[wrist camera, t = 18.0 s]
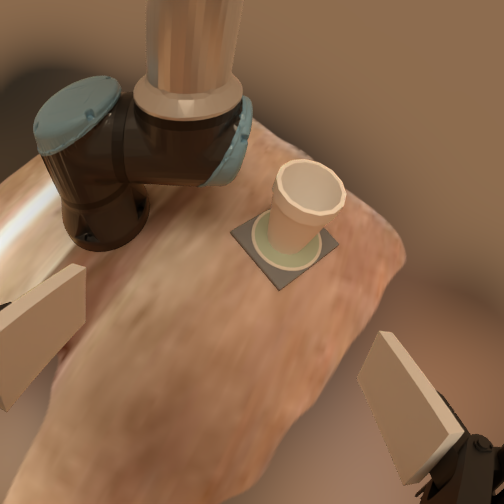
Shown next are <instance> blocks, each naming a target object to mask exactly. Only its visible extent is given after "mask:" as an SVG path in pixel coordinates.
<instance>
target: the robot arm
mask: <svg viewBox="0 0 504 504" xmlns="http://www.w3.org/2000/svg"><path fill="white" fill-rule="evenodd" d="M243 3H244V0H146V69H147V74H146V75H144V76H143V77H142V78H141V79H140V80H139V81H138V83H137V84H136V86H135V88H134V91H133V92H121V86H120V85H119V83H118V81H117V80H116V79H114V78H111V77H109V76H94V77H89V78H86V79H83V80H80V81H77V82H75V83H73V84H71V85H69V86H67V87H65V88H63V89H62V90H60V91H59V92H58V93H56V94H55V95H53V96H52V97H51V98H50V99H49V100H48V101H47V102H46V103H45V104H44V105H43V106H42V108H41V109H40V110H39V112H38V114H37V116H36V118H35V121H34V125H33V131H34V135H35V138H36V142H37V145H38V152H39V153H40V155H41V157H42V159H43V161H44V164H45V166H46V168H47V170H48V172H49V174H50V176H51V178H52V180H53V182H54V184H55V186H56V188H57V190H58V192H59V194H60V196H61V201H62V218H63V223H64V226H65V229H66V231H67V232H68V234H69V236H70V237H71V239H72V240H73V241H74V242H75V243H76V244H77V245H78V246H80V247H82V248H84V249H86V250H90V251H109V250H113V249H116V248H118V247H121V246H123V245H124V244H126V243H128V242H129V241H131V240H132V239H133V238H134V237H135V236H136V235H137V234H138V233H139V232H140V231H141V229H142V228H143V226H144V225H145V223H146V220H147V218H148V214H149V200H148V194H147V191H146V188H145V186H144V184H159V185H178V186H195V187H204V186H224V185H227V184H229V183H230V182H231V181H233V180H234V178H235V177H236V176H237V174H238V172H239V170H240V168H241V165H242V162H243V159H244V157H245V153H246V150H247V145H248V142H247V139H248V138H249V135H250V131H251V125H252V114H253V111H252V102H251V100H250V99H249V98H248V97H246V96H244V95H242V93H243V88H242V85H241V83H240V81H239V80H238V79H237V78H236V77H235V76H234V75H233V74H232V73H231V71H232V65H233V59H234V53H235V47H236V41H237V36H238V30H239V24H240V19H241V14H242V9H243ZM85 322H86V267H84V266H80V265H77V264H73V263H72V264H70V265H69V266H67V267H65V268H64V269H62V270H61V271H59V272H57V273H56V274H54V275H53V276H51V277H50V278H48V279H47V280H45V281H44V282H42V283H40V284H39V285H37V286H36V287H34V288H33V289H31V290H30V291H28V292H27V293H26V294H24V295H23V296H21V297H20V298H18V299H17V300H15V301H14V302H9V303H6V304H3V305H0V408H1V409H2V410H4V411H5V412H8V411H9V409H10V408H11V407H12V405H13V404H14V403H15V402H16V401H17V399H18V398H19V397H20V396H21V394H22V393H23V392H24V391H25V390H26V389H27V387H28V386H29V385H30V384H31V383H32V381H33V380H34V379H35V378H36V377H37V375H38V374H39V373H40V372H41V371H42V370H43V368H44V367H45V366H46V365H47V364H48V363H49V361H50V360H51V359H52V358H53V357H54V356H55V355H56V354H57V353H58V352H59V350H60V349H61V348H62V347H63V346H64V345H65V344H66V343H67V342H68V340H69V339H70V338H71V337H72V336H73V335H74V334H75V333H76V332H77V331H78V330H79V329H80V328H81V326H82V325H83V324H84V323H85ZM357 381H358V383H359V385H360V387H361V389H362V392H363V394H364V396H365V398H366V400H367V402H368V405H369V407H370V409H371V412H372V414H373V416H374V418H375V421H376V423H377V425H378V427H379V430H380V432H381V434H382V437H383V439H384V441H385V443H386V446H387V448H388V450H389V453H390V455H391V458H392V460H393V462H394V465H395V467H396V469H397V472H398V474H399V477H400V479H401V482H402V484H403V486H405V485H410V484H414V483H419V482H420V481H421V480H422V479H423V478H424V477H425V476H426V475H427V474H428V473H430V475H431V477H432V479H431V480H430V481H429V482H428V483H427V484H426V485H425V486H424V487H423V488H421V490H419V491H418V492H417V493H416V495H415V497H418V496H419V495H420V494H421V493H422V492H424V493H423V496H422V497H421V501H420V504H504V489H503V490H502V491H501V492H500V493H499V494H497V495H496V494H495V490H496V489H497V488H498V487H499V486H500V485H501V484H502V483H503V482H504V444H503V446H502V447H493V445H492V443H491V442H490V441H489V440H488V439H487V438H486V437H484V436H482V435H479V434H472V435H470V433H469V432H468V430H467V429H466V427H465V426H464V424H463V423H462V421H461V420H460V419H459V417H458V416H457V414H456V413H454V410H453V409H452V407H451V406H449V405H450V404H449V403H448V402H447V400H446V399H445V398H444V396H443V395H441V394H440V393H439V392H438V391H437V390H435V389H434V387H433V386H432V385H431V383H430V382H429V380H428V379H427V378H426V377H425V375H424V374H423V372H422V371H421V370H420V368H419V367H418V366H417V365H416V363H415V362H414V360H413V359H412V358H411V356H410V355H409V354H408V353H407V351H406V350H405V348H404V347H403V346H402V345H401V343H400V342H399V341H398V339H397V338H396V337H395V336H394V334H393V333H391V332H384V331H378V334H377V336H376V338H375V341H374V343H373V345H372V347H371V349H370V351H369V353H368V356H367V358H366V360H365V362H364V364H363V366H362V368H361V370H360V372H359V374H358V376H357Z"/></svg>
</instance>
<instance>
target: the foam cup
mask: <svg viewBox="0 0 504 504" xmlns="http://www.w3.org/2000/svg"><path fill="white" fill-rule="evenodd" d="M272 190H273V197H272V204H271V210H270V217H269V224H268V231H267V232H268V233H267V236H268V242H269V243H270V244H271V246H272V247H273V249H275V250H276V251H278V252H280V253H282V254H287V255H291V254H296V253H298V252H299V251H300V250H301V249H303V248H304V247H305V246H306V245H307V244H308V243H309V242H310V241H311V240H312V239H313V238H314V237H315V236H316V235H317V234H318V233H319V232H320V231H321V230H322V229H323V228H324V227H325V226H326V225H327V224H328V223H330V222H331V221H332V220H333V219H334V218H335V217H336V216H337V215H338V214H339V212H340V211H341V209H342V208H343V206H344V203H345V198H346V192H345V189H344V186H343V183H342V181H341V180H340V179H339V178H338V176H337V175H336V174H335V173H334V172H333V171H332V170H331V169H329V168H327V167H326V166H324V165H322V164H320V163H318V162H315V161H311V160H307V159H300V160H291V161H289V162H287V163H286V164H284V165H282V166H281V167H280V170H279V172H278V174H277V176H276V179H275V182H274V185H273V188H272Z"/></svg>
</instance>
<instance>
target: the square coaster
mask: <svg viewBox="0 0 504 504" xmlns="http://www.w3.org/2000/svg"><path fill="white" fill-rule="evenodd" d="M270 210H271V208H270V209H268V210H267V211H265V212H263V213H261V214H260V215H258V216H256V217H254V218H253V219H251V220H249V221H247V222H246V223H244V224H242V225H241V226H239V227H237V228H235V229H234V230H232V231H231V232H230V233H231V235H232V236H233V237H234V238H235V239H236V241H237V242H238V243H239V244H240V245H241V246H242V248H243V249H244V250H245V251H246V252H247V254H248V255H249V256H250V257H251V258H252V260H253V261H254V262H255V263H256V264H257V266H258V267H259V268H260V269H261V270H262V271H263V273H264V274H265V275H266V276H267V277H268V279H269V280H270V281H271V282H272V283H273V285H274V286H275V287H276V288H277V289H278V290H279V291H280V290H281V289H282V288H284V287H285V286H286V285H288V284H289V283H290V282H292V281H293V280H294V279H296V278H297V277H298V276H300V275H301V274H302V273H304V272H305V271H306V270H307V269H309V268H310V267H311V266H313V265H314V264H315V263H317V262H318V261H319V260H320V259H322V258H323V257H324V256H326V255H327V254H328V253H329V252H331V251H332V250H333V249H334V248H336V247H337V246H338V245H339V243H338V242H337V241H336V240H335V239H334V238H333V237H332V236H331V235H330V234H329V232H328V231H327V230H326V229H325V228H323V229H322V230H321V231H320V232H319V233H318V234H317V235H316V236H315V237H314V238H313V239H312V240H311V241H310V242H309V243H308V244H307V245H306V246H305V247H304V248H303V249H301V250H300V251H299V252H298V253H296V254H291V255H287V254H282V253H280V252H278V251H276V250H275V249H273V247H272V246H271V244H270V243H269V242H268V236H267V233H268V232H267V231H268V224H269V217H270Z"/></svg>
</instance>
